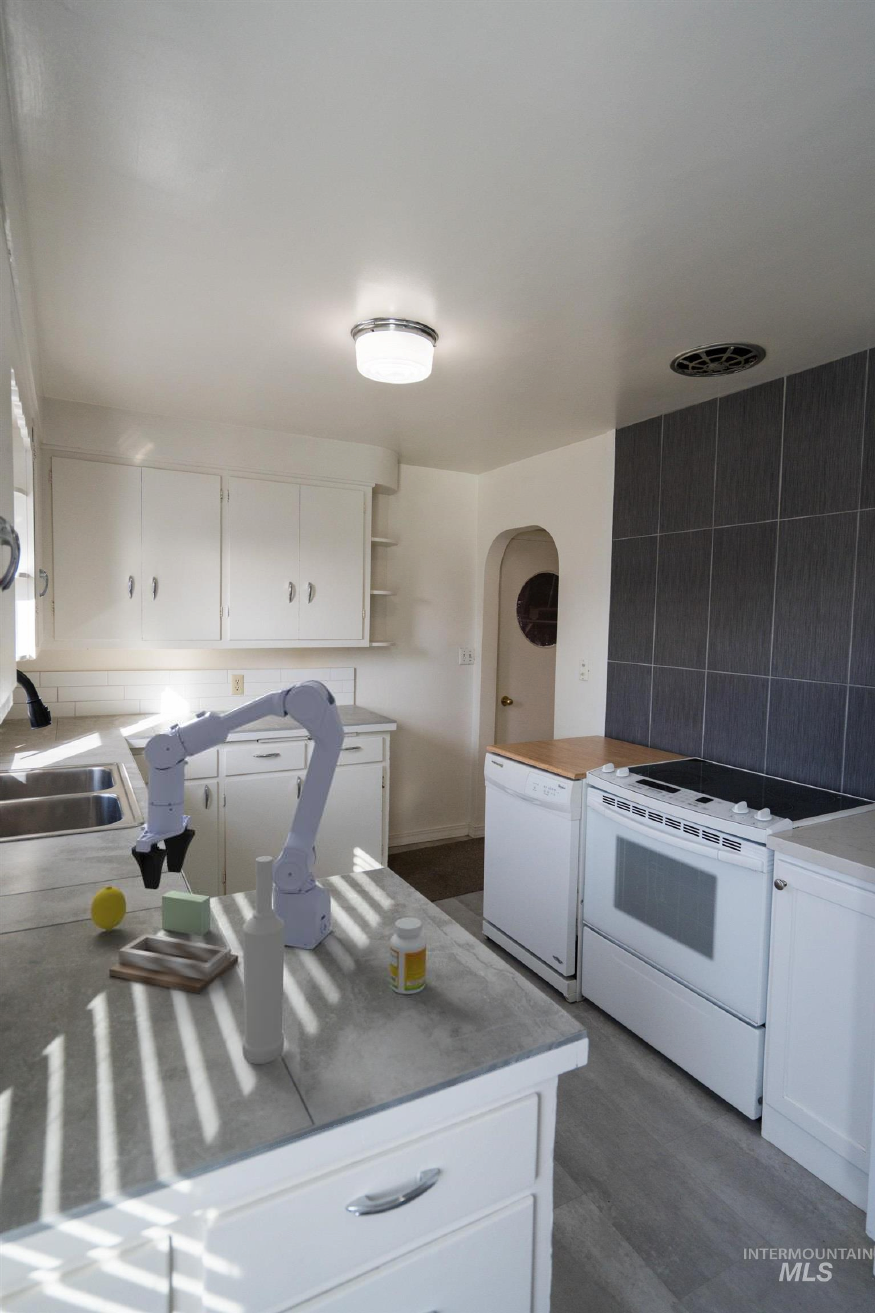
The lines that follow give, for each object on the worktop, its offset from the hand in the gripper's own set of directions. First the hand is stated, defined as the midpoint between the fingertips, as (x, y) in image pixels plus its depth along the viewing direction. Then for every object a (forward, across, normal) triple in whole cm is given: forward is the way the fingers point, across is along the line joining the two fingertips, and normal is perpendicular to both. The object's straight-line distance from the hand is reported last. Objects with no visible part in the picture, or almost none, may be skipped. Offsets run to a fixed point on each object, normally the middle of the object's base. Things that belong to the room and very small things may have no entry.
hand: (163, 879), depth 119 cm
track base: (+10, +10, +8) cm, 16 cm away
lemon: (+10, 0, -10) cm, 14 cm away
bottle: (+9, +28, +29) cm, 41 cm away
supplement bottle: (+8, +9, +44) cm, 46 cm away
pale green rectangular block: (+10, -3, +3) cm, 11 cm away
